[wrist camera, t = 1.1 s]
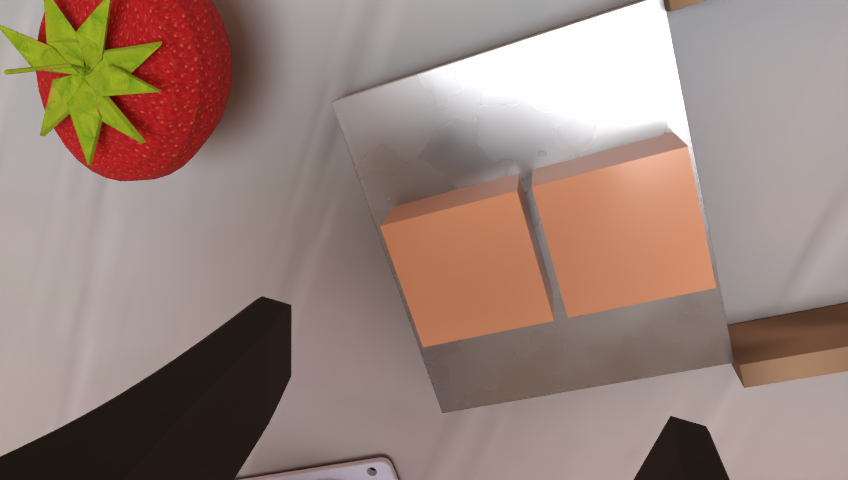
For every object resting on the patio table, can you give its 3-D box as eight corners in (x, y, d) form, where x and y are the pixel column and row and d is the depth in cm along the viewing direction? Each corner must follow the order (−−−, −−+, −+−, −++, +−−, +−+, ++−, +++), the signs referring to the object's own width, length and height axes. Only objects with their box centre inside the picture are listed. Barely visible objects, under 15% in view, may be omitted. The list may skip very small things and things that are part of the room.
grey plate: (448, 387, 30) (442, 413, 28) (346, 94, 26) (331, 102, 24) (720, 337, 27) (734, 362, 25) (652, -4, 23) (662, -5, 21)
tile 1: (565, 289, 25) (567, 317, 23) (532, 169, 23) (531, 186, 21) (699, 261, 24) (716, 287, 21) (673, 131, 22) (688, 146, 20)
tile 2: (432, 318, 26) (422, 347, 24) (394, 206, 25) (380, 226, 23) (552, 292, 25) (553, 321, 23) (519, 173, 24) (516, 190, 21)
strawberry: (135, 123, 28) (-67, 184, 19) (157, -60, 25) (-69, -96, 16) (261, 167, 28) (120, 251, 18) (298, -14, 25) (152, -23, 15)
